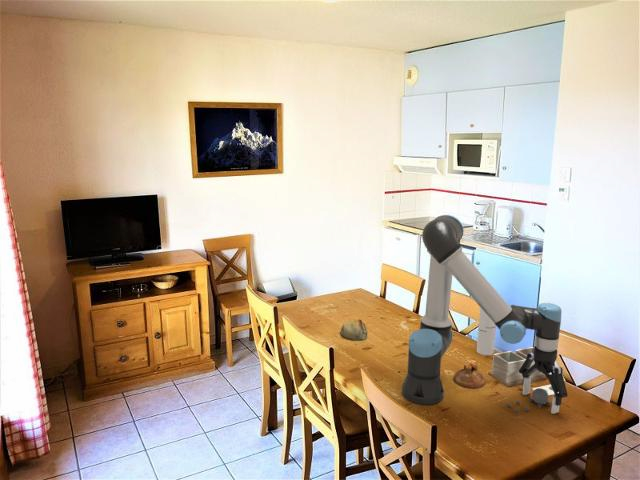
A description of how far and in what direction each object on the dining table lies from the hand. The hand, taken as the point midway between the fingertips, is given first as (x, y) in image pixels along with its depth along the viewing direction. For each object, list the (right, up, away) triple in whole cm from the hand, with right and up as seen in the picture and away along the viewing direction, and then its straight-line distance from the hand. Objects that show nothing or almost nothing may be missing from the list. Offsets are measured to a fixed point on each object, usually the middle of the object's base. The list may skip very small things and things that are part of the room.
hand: (540, 403), depth 180 cm
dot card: (+7, +2, +9) cm, 12 cm away
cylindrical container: (-6, +9, +42) cm, 43 cm away
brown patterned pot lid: (-21, +3, +16) cm, 26 cm away
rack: (+1, +4, +20) cm, 21 cm away
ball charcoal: (0, 0, 0) cm, 0 cm away
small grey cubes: (-5, 0, -2) cm, 5 cm away
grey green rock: (-62, +13, +59) cm, 87 cm away
